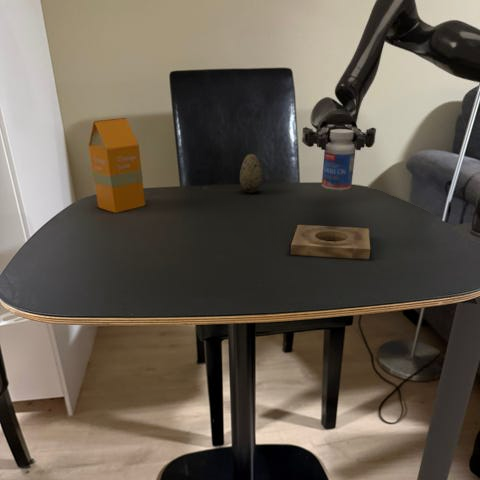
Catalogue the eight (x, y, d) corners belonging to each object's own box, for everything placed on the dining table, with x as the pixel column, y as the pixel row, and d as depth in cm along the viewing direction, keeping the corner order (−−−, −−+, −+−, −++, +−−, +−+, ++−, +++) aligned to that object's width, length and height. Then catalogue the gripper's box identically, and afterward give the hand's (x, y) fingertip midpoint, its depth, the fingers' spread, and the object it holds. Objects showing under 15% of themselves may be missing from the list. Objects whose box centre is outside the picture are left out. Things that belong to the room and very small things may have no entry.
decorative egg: (237, 194, 128) (237, 155, 123) (242, 189, 133) (242, 151, 128) (259, 195, 127) (260, 156, 122) (263, 190, 132) (264, 152, 127)
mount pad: (367, 237, 96) (368, 228, 95) (369, 259, 85) (370, 249, 84) (297, 234, 98) (297, 224, 97) (290, 254, 88) (291, 244, 87)
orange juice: (145, 205, 119) (136, 118, 110) (115, 213, 114) (102, 122, 104) (127, 200, 124) (116, 116, 114) (97, 207, 118) (83, 119, 109)
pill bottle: (317, 189, 87) (321, 132, 82) (326, 182, 91) (330, 127, 87) (347, 191, 85) (353, 133, 80) (354, 185, 89) (360, 129, 85)
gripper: (370, 149, 98) (381, 166, 83) (300, 148, 99) (298, 165, 85) (375, 109, 94) (387, 120, 79) (301, 109, 96) (300, 119, 81)
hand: (341, 143), depth 82 cm, fingers closed on pill bottle, 5 cm apart
